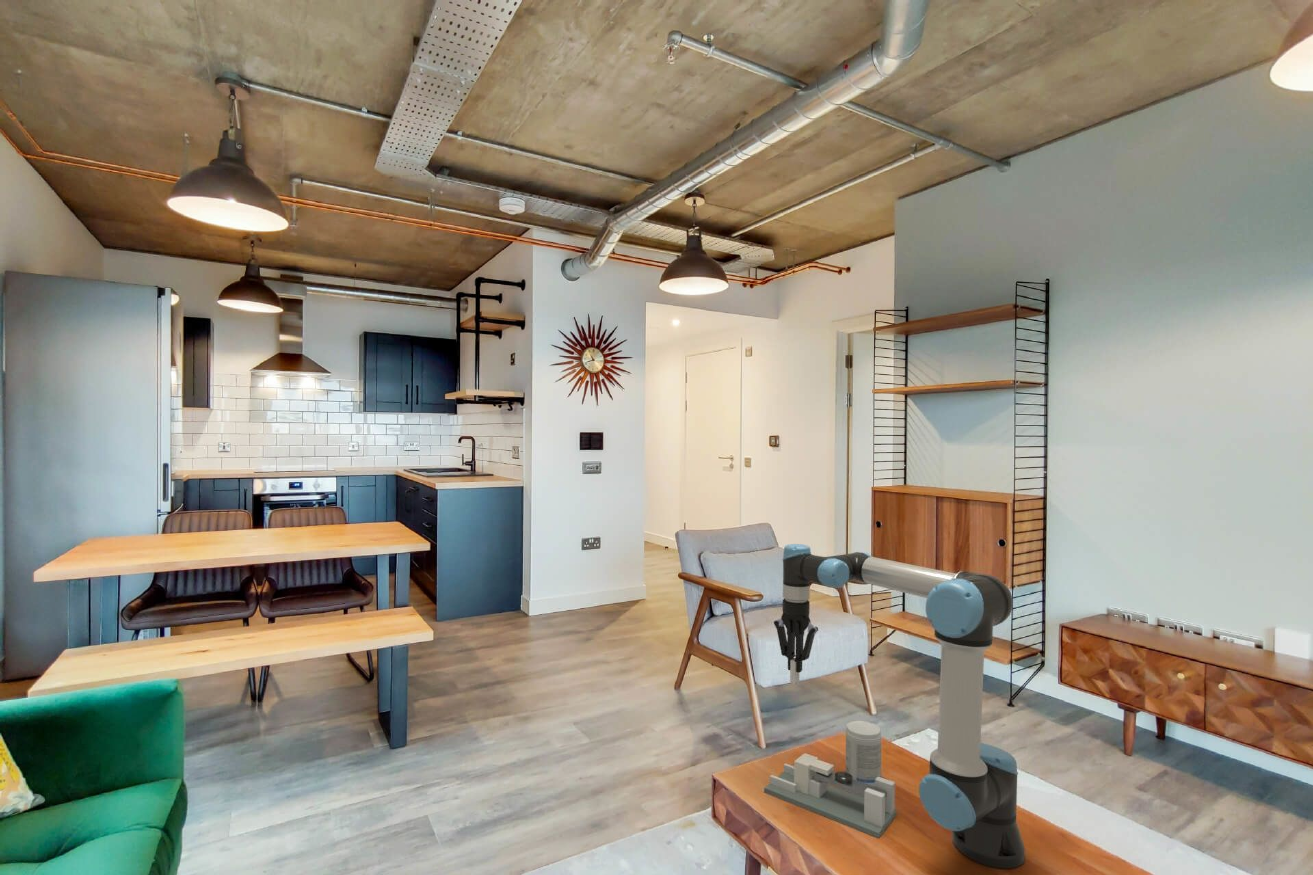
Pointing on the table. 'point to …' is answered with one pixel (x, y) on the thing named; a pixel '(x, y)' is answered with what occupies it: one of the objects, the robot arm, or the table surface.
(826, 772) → the block
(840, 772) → the grey long flat bar
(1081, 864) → the table surface
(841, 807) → the mount
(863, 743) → the supplement tub
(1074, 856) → the table surface
